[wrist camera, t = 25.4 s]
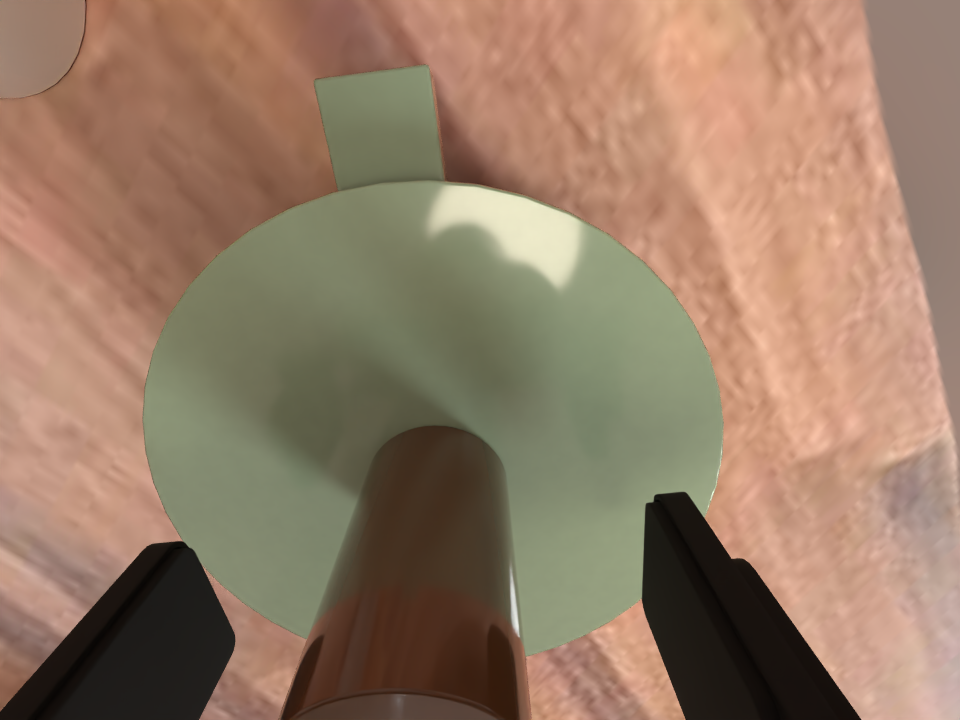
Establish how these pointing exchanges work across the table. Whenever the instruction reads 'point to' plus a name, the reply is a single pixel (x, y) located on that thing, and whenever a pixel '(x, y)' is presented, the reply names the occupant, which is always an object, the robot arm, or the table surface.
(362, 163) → the pot
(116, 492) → the table surface
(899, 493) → the table surface
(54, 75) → the cylindrical container
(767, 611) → the robot arm
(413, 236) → the lid
